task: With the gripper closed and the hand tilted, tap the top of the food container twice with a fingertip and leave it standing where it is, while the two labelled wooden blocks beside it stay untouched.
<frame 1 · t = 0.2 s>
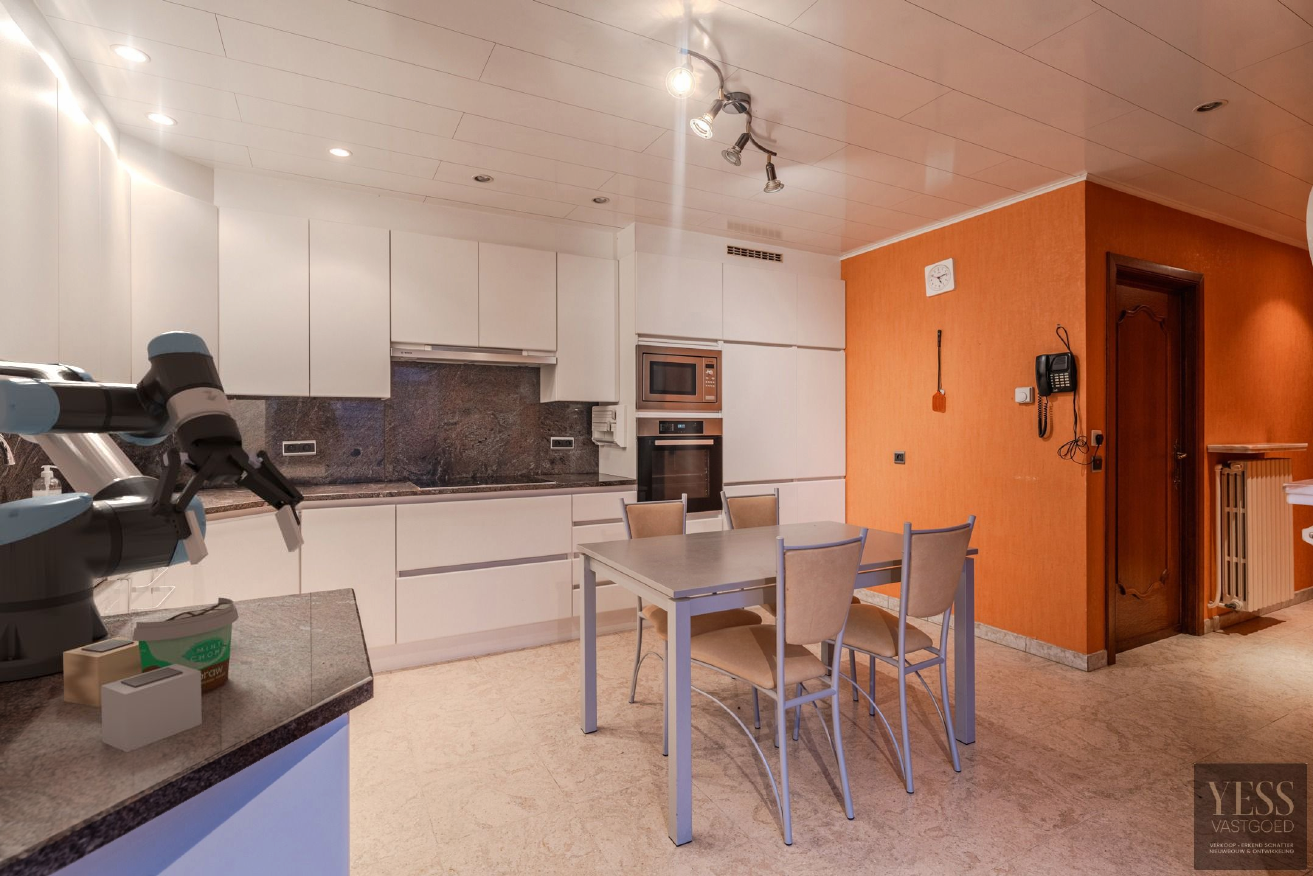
hand: (251, 553, 89), 15 cm above the countertop, tool tilted 35°, fingers open, 13 cm apart
oak block: (109, 694, 80), on the countertop
grey painted block: (153, 733, 69), on the countertop
food container: (202, 690, 81), on the countertop
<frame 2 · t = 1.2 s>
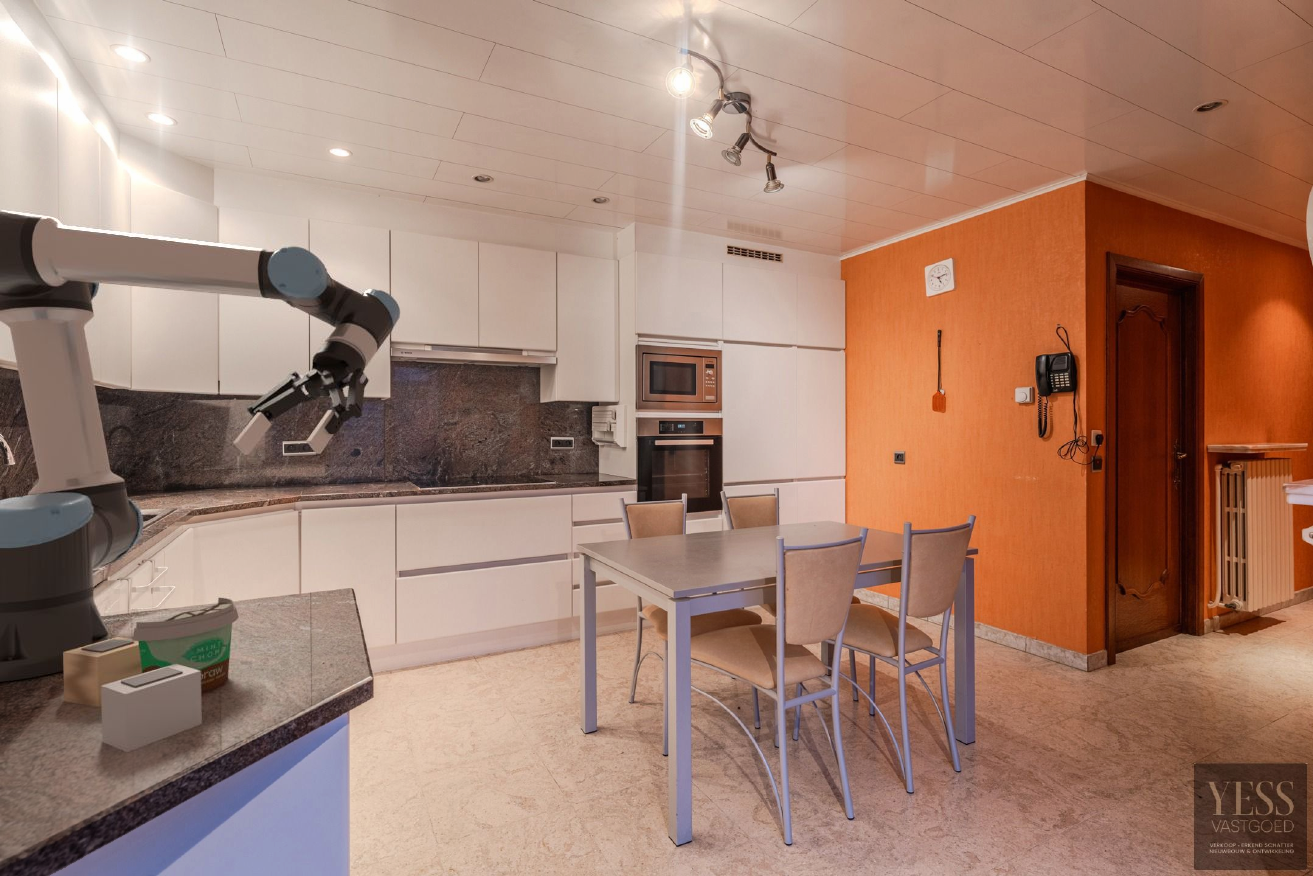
hand: (276, 448, 96), 30 cm above the countertop, tool tilted 45°, fingers open, 12 cm apart
nothing on the countertop moved.
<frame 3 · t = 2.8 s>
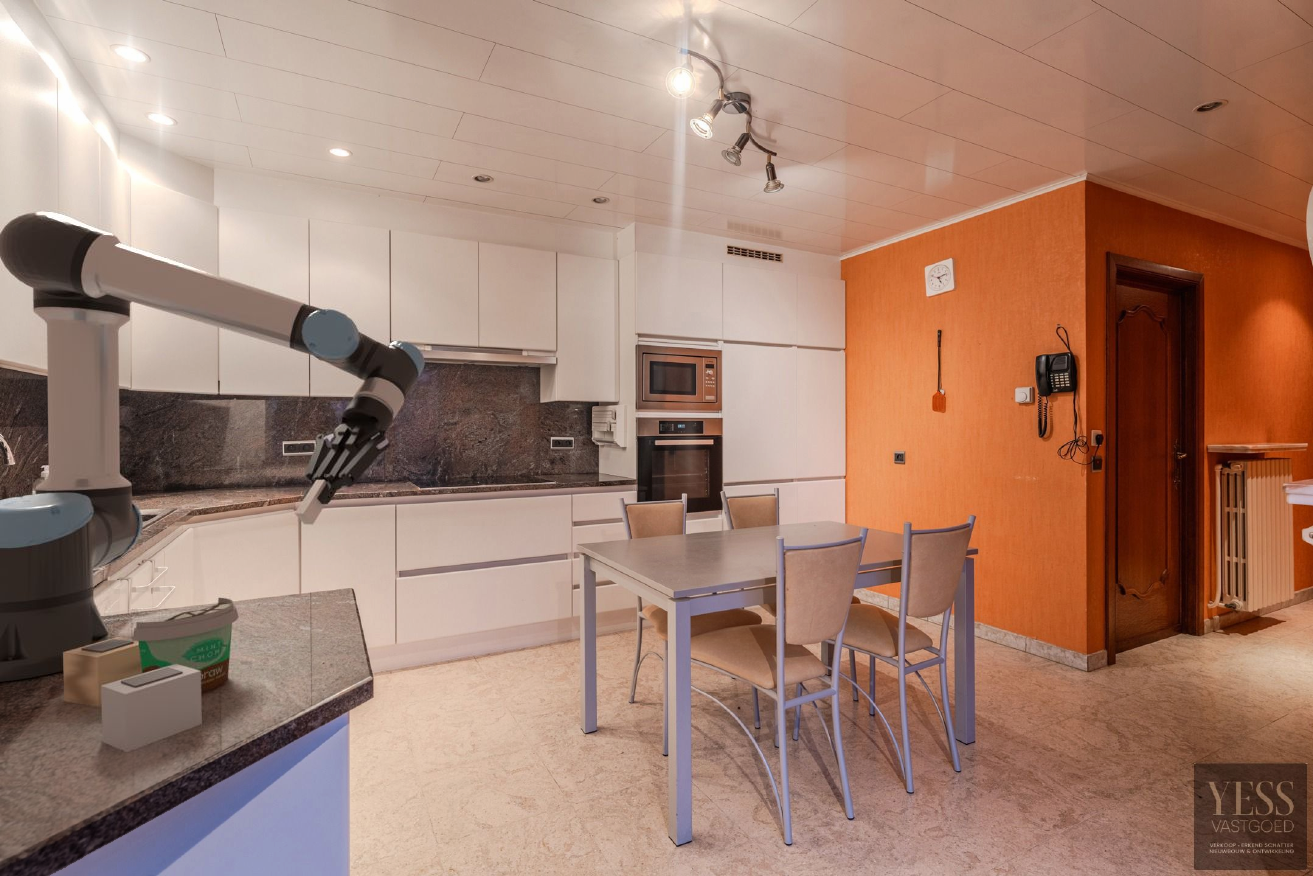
hand: (303, 518, 96), 19 cm above the countertop, tool tilted 45°, fingers closed
nothing on the countertop moved.
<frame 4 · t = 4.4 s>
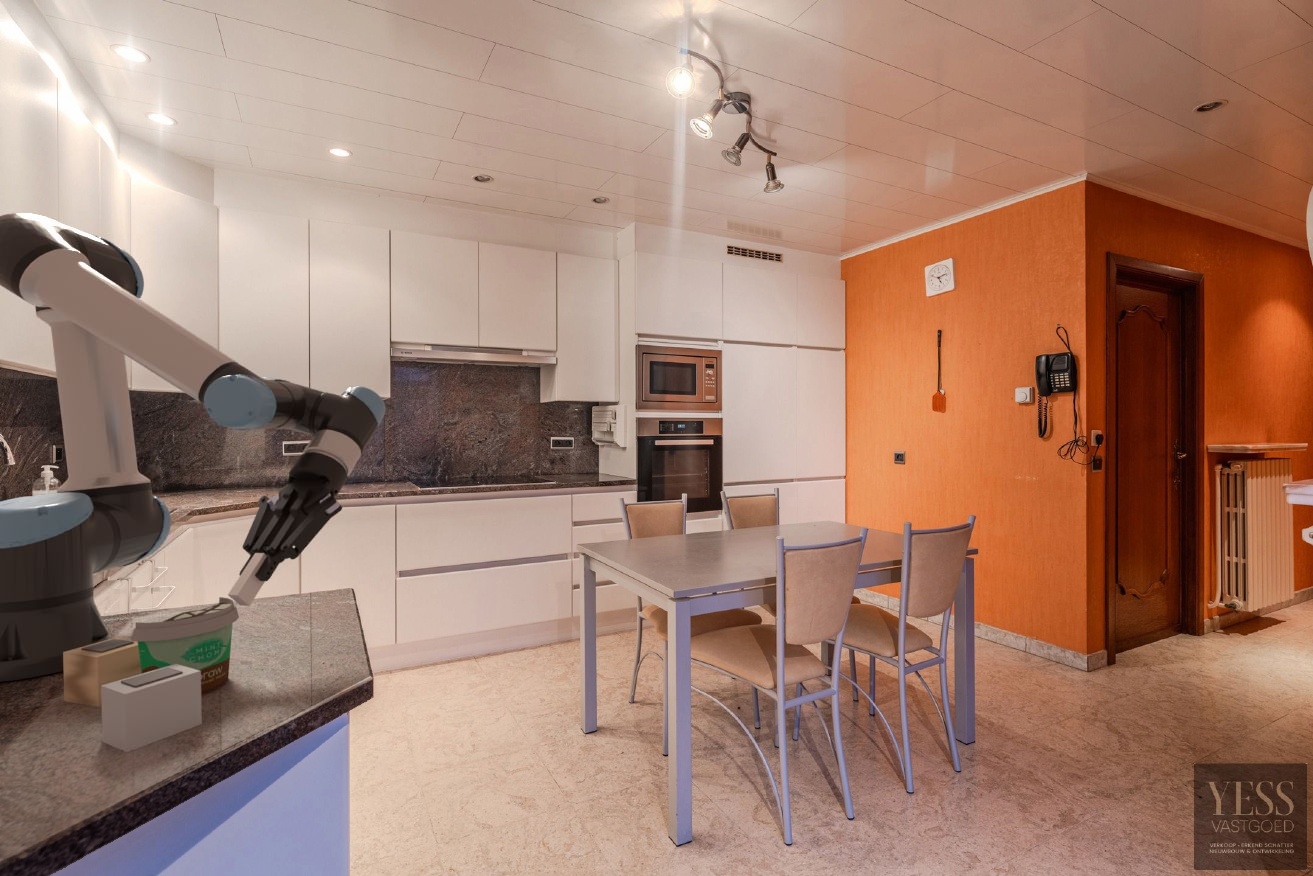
hand: (238, 600, 85), 10 cm above the countertop, tool tilted 45°, fingers closed
food container: (202, 690, 81), on the countertop, touching gripper
everything else where it was.
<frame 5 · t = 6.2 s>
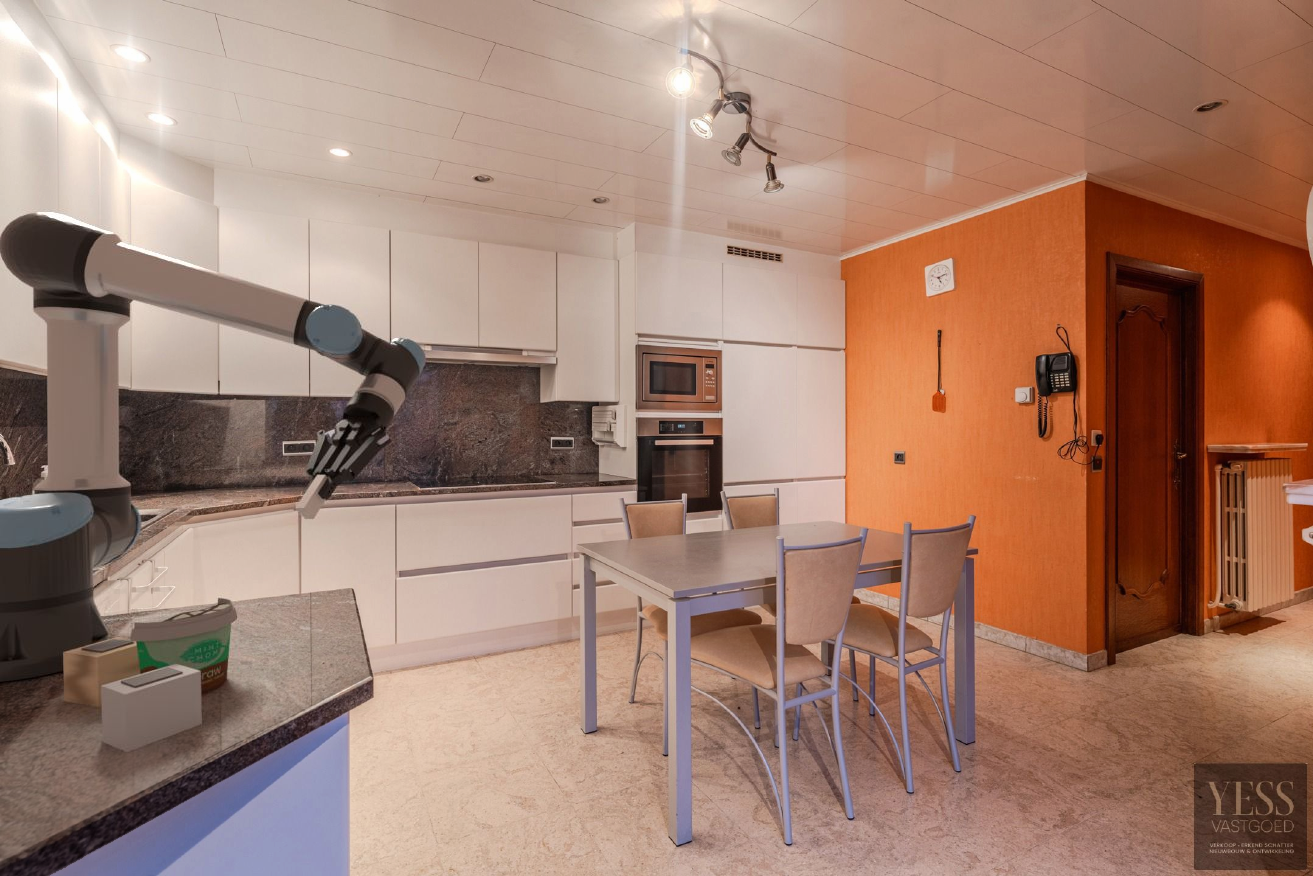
hand: (304, 513, 97), 20 cm above the countertop, tool tilted 45°, fingers closed
food container: (200, 691, 81), on the countertop
everything else where it was.
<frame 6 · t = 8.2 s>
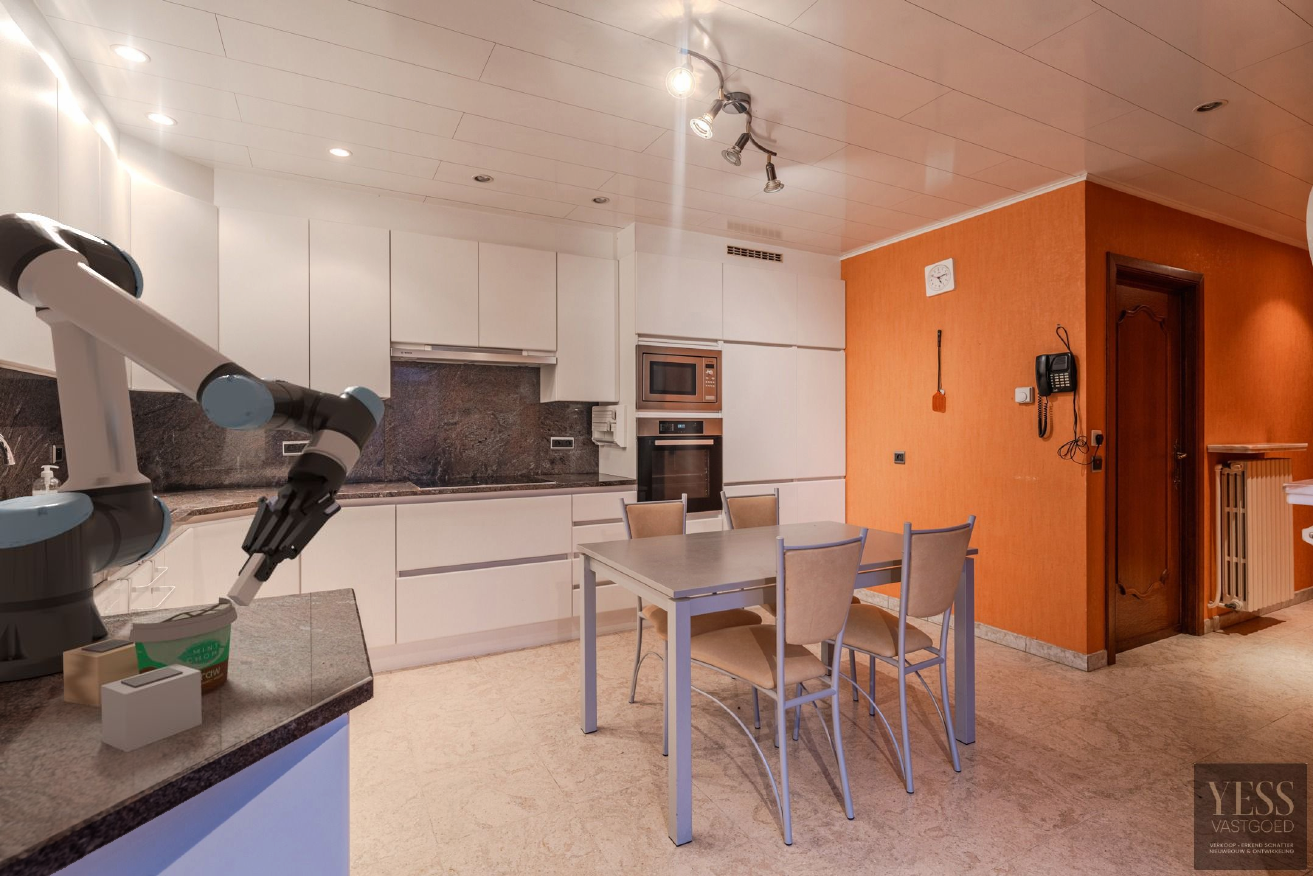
hand: (237, 600, 85), 10 cm above the countertop, tool tilted 45°, fingers closed
food container: (200, 691, 81), on the countertop, touching gripper
everything else where it was.
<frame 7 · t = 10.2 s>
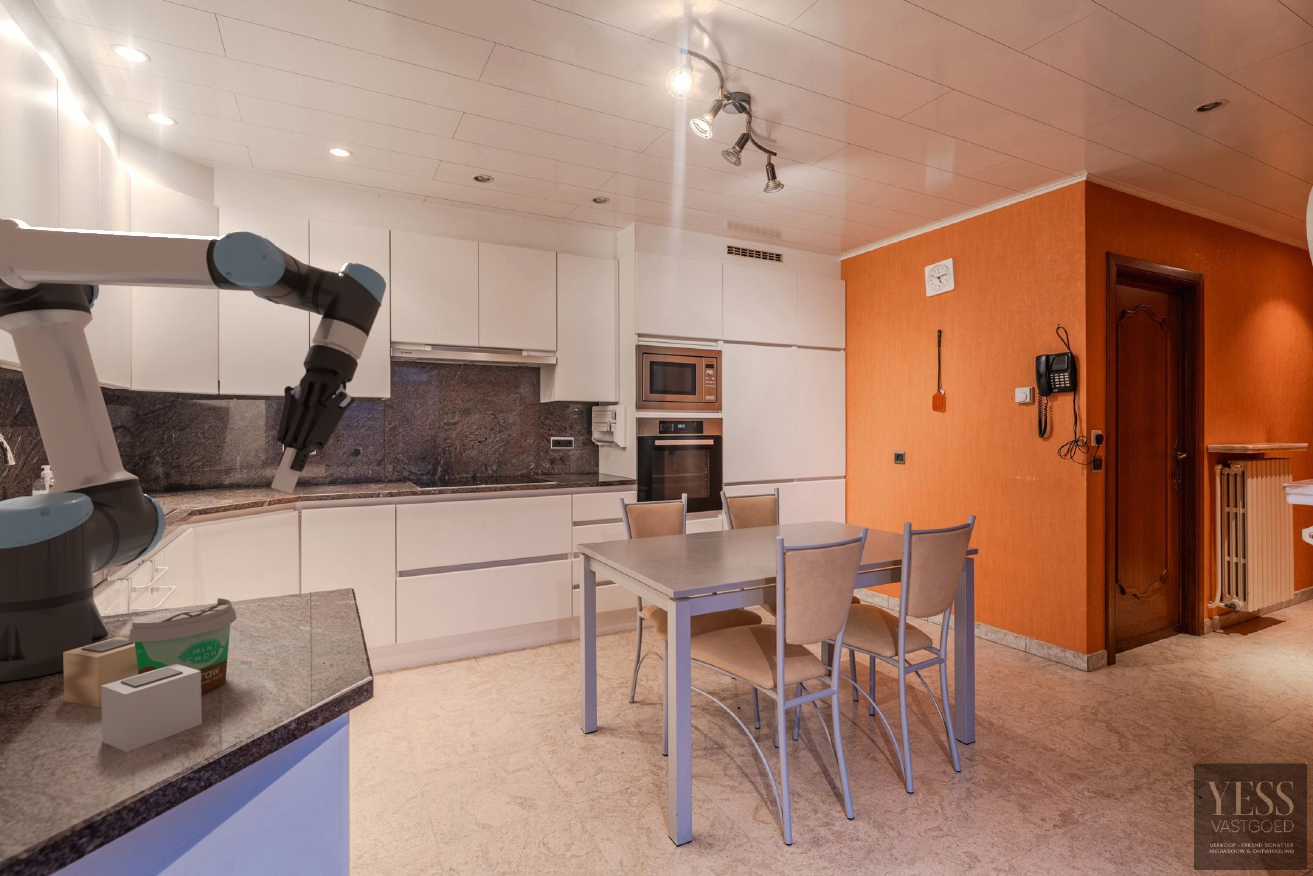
hand: (281, 490, 100), 23 cm above the countertop, tool tilted 20°, fingers closed
food container: (199, 692, 81), on the countertop
everything else where it was.
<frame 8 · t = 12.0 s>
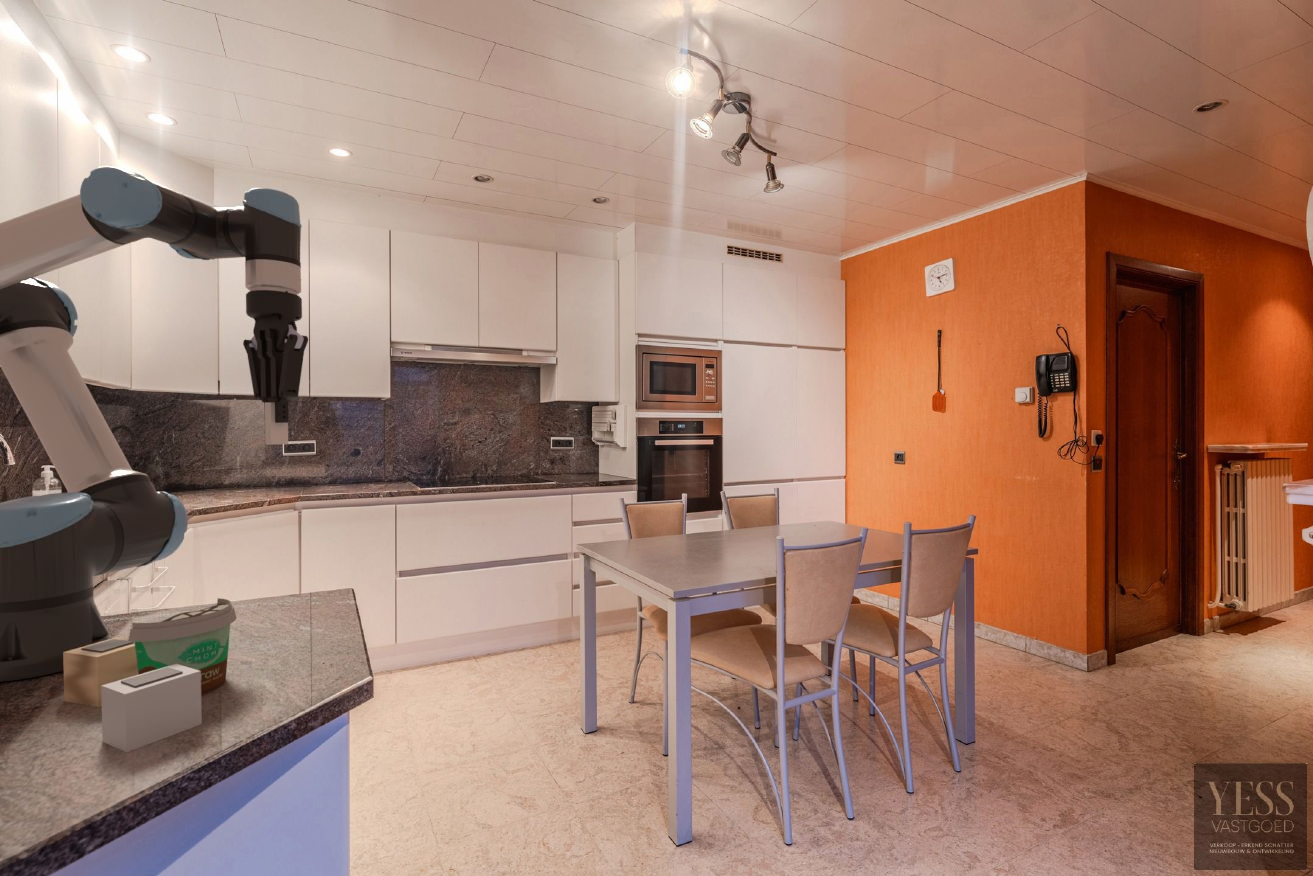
hand: (276, 444, 101), 30 cm above the countertop, tool pointing down, fingers closed
nothing on the countertop moved.
at the end: food container moved 0.5 cm from its start; food container tilted 0°; food container on the countertop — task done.
